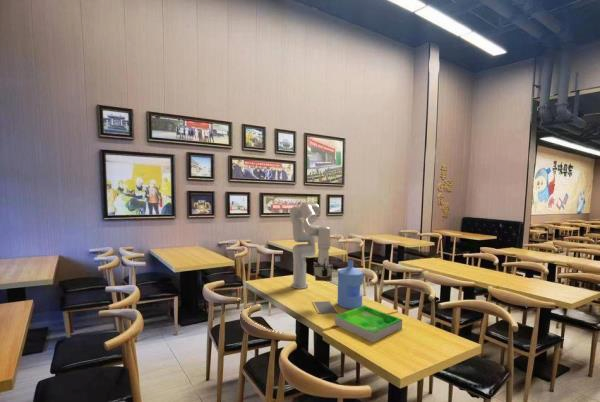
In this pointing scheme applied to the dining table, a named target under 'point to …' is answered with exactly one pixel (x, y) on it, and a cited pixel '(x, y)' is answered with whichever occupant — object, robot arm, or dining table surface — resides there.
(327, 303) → the mat
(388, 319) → the tray
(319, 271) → the food container
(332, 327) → the dining table surface
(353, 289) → the water jug
